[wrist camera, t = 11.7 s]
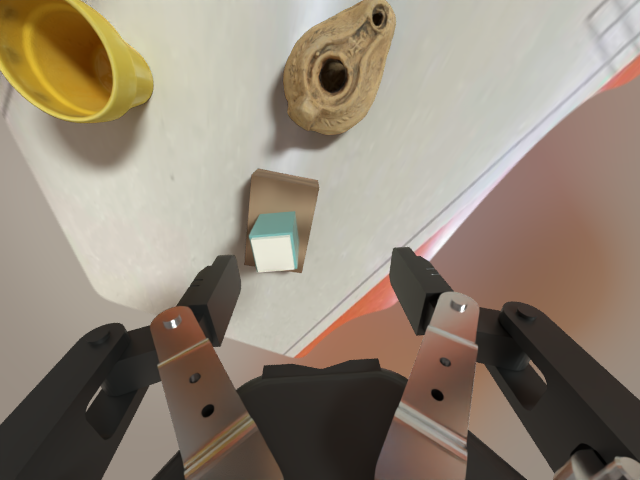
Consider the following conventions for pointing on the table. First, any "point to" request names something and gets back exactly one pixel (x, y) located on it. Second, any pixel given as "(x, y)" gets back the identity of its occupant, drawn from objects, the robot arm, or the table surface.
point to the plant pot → (70, 61)
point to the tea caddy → (275, 242)
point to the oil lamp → (339, 68)
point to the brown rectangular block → (282, 205)
